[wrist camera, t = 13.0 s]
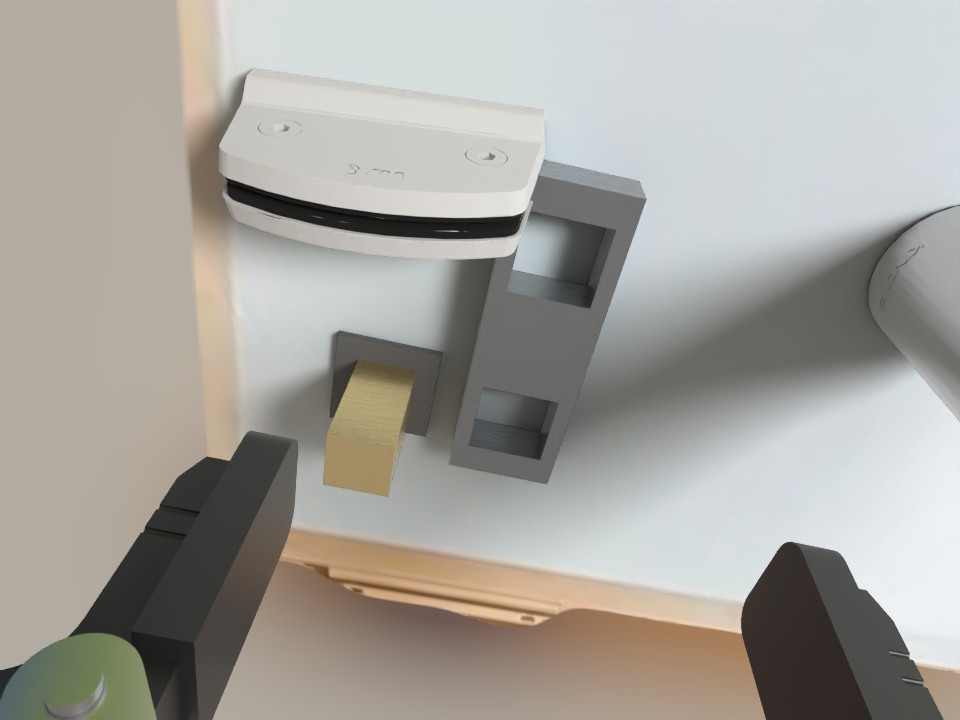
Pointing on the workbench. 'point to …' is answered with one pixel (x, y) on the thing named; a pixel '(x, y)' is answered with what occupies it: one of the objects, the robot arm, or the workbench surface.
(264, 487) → the robot arm
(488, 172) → the white arched device
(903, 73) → the workbench surface
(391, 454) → the tan wooden beam
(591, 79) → the workbench surface
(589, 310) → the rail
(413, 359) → the pad
